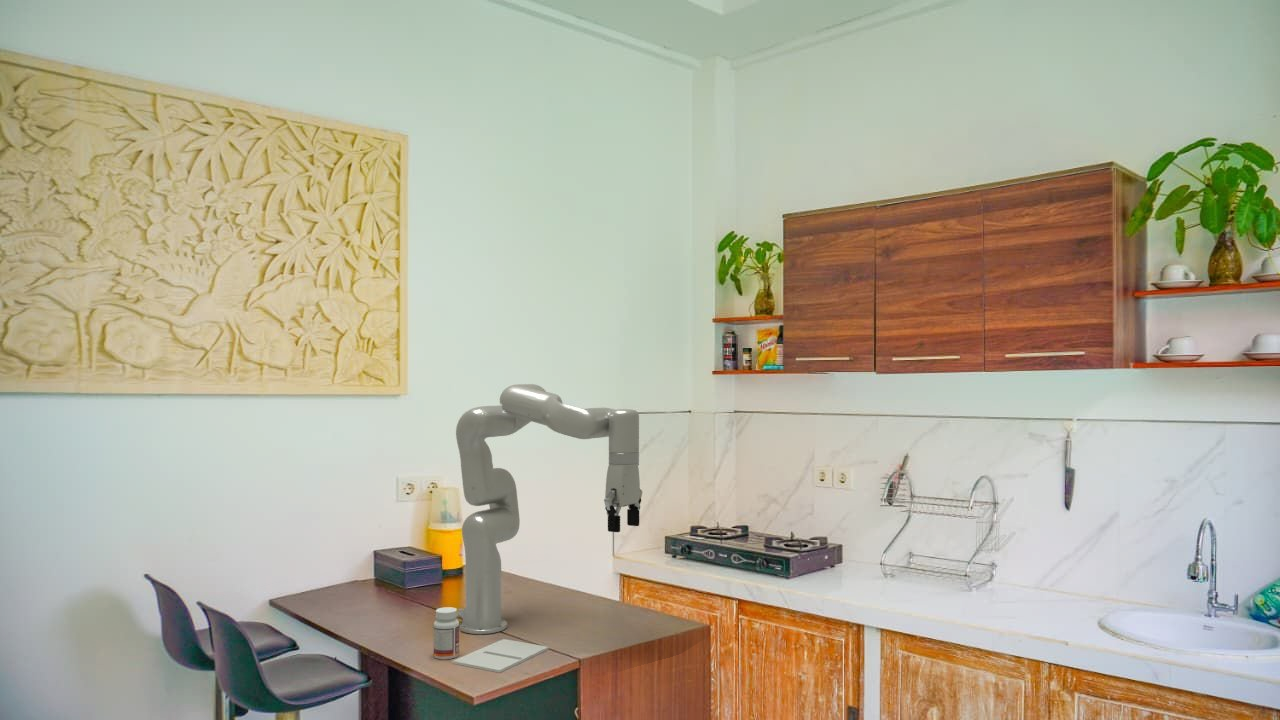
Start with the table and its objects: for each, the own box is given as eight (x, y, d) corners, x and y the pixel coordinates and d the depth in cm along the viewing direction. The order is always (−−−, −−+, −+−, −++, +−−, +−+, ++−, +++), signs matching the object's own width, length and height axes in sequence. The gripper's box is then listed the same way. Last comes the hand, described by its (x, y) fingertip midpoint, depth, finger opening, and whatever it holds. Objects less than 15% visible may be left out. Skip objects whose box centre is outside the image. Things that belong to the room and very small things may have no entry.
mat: (452, 663, 217) (452, 660, 217) (503, 641, 234) (503, 638, 234) (499, 672, 210) (499, 669, 210) (548, 649, 228) (548, 646, 228)
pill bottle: (449, 650, 227) (449, 605, 227) (464, 655, 222) (464, 609, 222) (428, 656, 222) (428, 609, 222) (443, 661, 218) (443, 614, 218)
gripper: (627, 455, 234) (627, 522, 234) (592, 461, 219) (592, 532, 219) (653, 457, 231) (653, 524, 231) (619, 463, 216) (619, 535, 215)
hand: (623, 528), depth 225 cm, fingers open, 9 cm apart
